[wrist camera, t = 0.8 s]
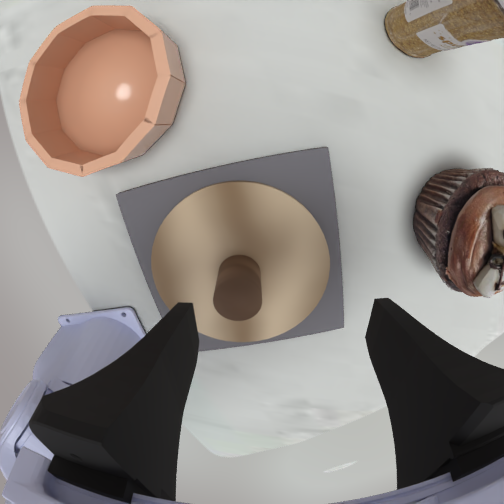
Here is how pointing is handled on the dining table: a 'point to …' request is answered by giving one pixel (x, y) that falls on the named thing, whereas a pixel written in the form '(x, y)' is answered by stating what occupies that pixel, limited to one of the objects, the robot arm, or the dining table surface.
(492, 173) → the cupcake
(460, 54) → the dining table surface
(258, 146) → the dining table surface
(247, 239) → the lid
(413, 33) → the sprinkles bottle
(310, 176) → the mat
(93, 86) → the bowl
